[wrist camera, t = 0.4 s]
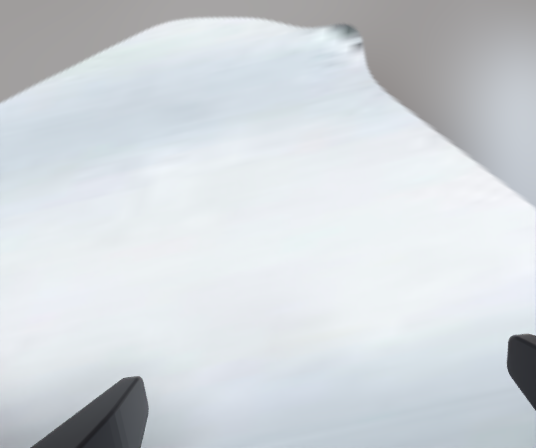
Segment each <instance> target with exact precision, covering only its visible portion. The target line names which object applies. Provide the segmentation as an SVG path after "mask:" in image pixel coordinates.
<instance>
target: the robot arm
mask: <svg viewBox="0 0 536 448" xmlns="http://www.w3.org/2000/svg"><path fill="white" fill-rule="evenodd" d="M507 369H508V372H509V374H510V376H511V377H512V379H513V380H514V382H515V383H516V384H517V386H518V387H519V388H520V390H521V391H522V393H523V394H524V395H525V397H526V398H527V399H528V401H529V402H530V404H531V405H532V406H533V408H534V409H535V410H536V336H535V335H532V334H520V335H513V336H511V337H510V338H509V341H508V354H507ZM148 409H149V408H148V401H147V397H146V392H145V387H144V382H143V380H142V378H141V377H139V376H136V377H127V378H123V379H121V380H120V381H119V382H117V383H116V384H115V385H113V386H112V387H111V388H109V389H108V390H107V391H105V392H104V393H103V394H101V395H100V396H99V397H97V398H96V399H95V400H93V401H92V402H91V403H89V404H88V405H87V406H85V407H84V408H83V409H81V410H80V411H79V412H77V413H76V414H75V415H73V416H72V417H71V418H69V419H68V420H67V421H66V422H64V423H63V424H62V425H60V426H59V427H58V428H56V429H55V430H54V431H52V432H51V433H50V434H48V435H47V436H46V437H44V438H43V439H42V440H40V441H39V442H38V443H36V444H35V445H34V446H32V447H31V448H141V444H142V439H143V435H144V431H145V426H146V422H147V418H148Z"/></svg>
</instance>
